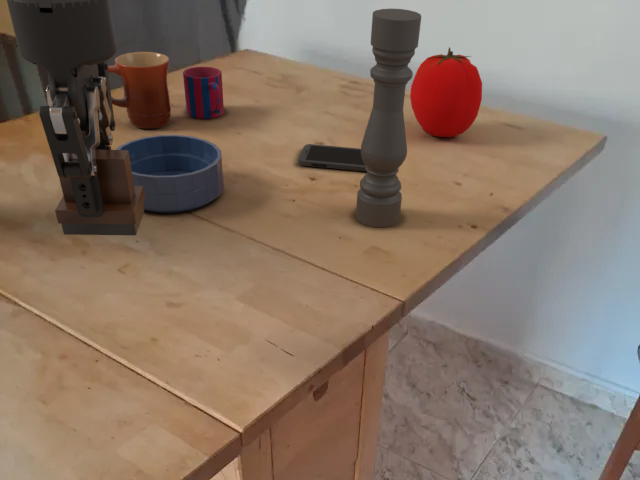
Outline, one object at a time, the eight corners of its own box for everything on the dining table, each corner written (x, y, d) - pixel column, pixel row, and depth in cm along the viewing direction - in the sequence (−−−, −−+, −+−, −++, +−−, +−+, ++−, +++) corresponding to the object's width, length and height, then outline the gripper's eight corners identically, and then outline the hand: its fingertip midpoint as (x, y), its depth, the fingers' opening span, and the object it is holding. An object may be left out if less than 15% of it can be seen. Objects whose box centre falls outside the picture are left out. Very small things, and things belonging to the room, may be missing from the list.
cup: (217, 104, 128) (215, 64, 123) (234, 123, 121) (232, 81, 117) (182, 108, 126) (178, 68, 121) (197, 127, 119) (194, 85, 115)
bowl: (95, 199, 98) (87, 161, 94) (162, 163, 107) (157, 127, 104) (182, 226, 93) (177, 186, 89) (243, 185, 102) (242, 148, 99)
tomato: (461, 152, 115) (476, 66, 106) (394, 137, 119) (403, 53, 110) (485, 131, 122) (500, 49, 113) (421, 117, 126) (432, 37, 117)
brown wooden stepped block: (60, 236, 63) (43, 165, 58) (74, 209, 67) (59, 141, 62) (137, 237, 63) (126, 167, 59) (146, 210, 67) (137, 143, 63)
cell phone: (384, 173, 107) (385, 168, 107) (297, 165, 108) (297, 160, 108) (388, 155, 112) (388, 150, 112) (304, 147, 114) (304, 143, 113)
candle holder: (372, 231, 93) (391, 23, 76) (346, 213, 97) (359, 11, 80) (408, 221, 96) (434, 17, 79) (382, 203, 100) (402, 6, 82)
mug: (168, 112, 124) (161, 49, 117) (182, 129, 118) (175, 64, 111) (101, 120, 120) (90, 55, 113) (112, 137, 115) (100, 71, 108)
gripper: (32, -33, 57) (75, 168, 69) (-26, 8, 47) (36, 237, 58) (123, -30, 57) (151, 169, 69) (86, 11, 47) (126, 238, 58)
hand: (98, 199), depth 63 cm, fingers closed on brown wooden stepped block, 5 cm apart
